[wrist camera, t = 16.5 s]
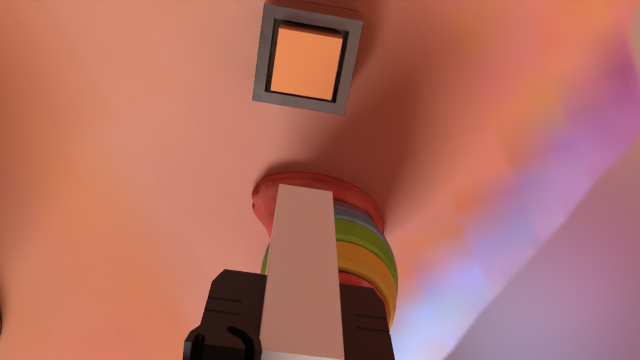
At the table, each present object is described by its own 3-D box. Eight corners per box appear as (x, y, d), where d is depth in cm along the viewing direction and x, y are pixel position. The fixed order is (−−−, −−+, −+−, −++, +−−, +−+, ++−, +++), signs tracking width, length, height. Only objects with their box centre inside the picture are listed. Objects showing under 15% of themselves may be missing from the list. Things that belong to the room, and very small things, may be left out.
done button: (273, 79, 37) (270, 90, 34) (281, 20, 35) (279, 28, 33) (329, 88, 37) (331, 100, 35) (340, 31, 35) (342, 39, 33)
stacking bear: (247, 175, 42) (208, 335, 26) (381, 161, 42) (424, 314, 26) (268, 291, 47) (246, 488, 31) (389, 280, 46) (430, 473, 30)
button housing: (257, 83, 39) (251, 100, 35) (268, -5, 36) (264, 4, 33) (341, 97, 40) (344, 115, 36) (358, 11, 37) (363, 21, 33)
